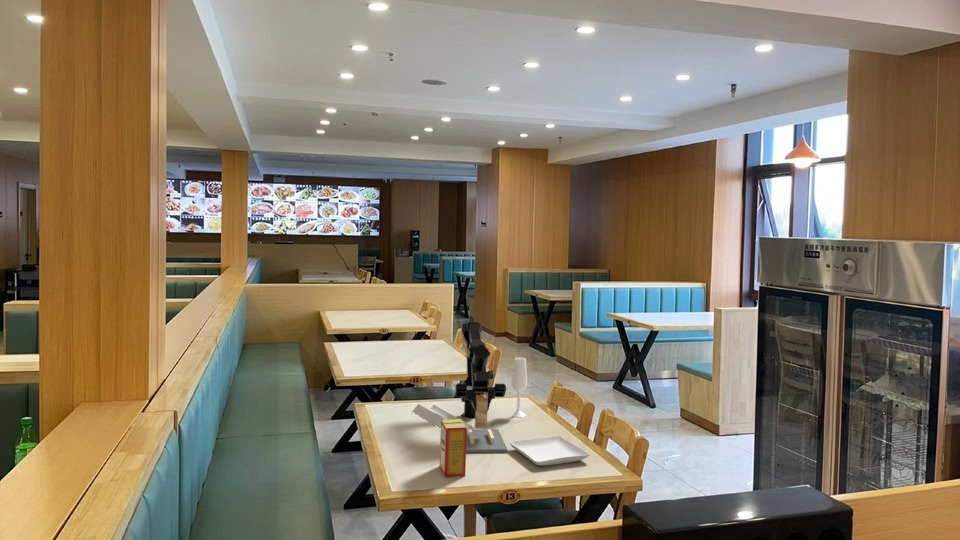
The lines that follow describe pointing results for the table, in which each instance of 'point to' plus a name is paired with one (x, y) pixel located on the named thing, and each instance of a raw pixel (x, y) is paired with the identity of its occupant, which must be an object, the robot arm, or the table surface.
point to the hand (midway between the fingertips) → (481, 410)
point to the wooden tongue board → (481, 411)
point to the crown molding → (435, 415)
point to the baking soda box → (453, 447)
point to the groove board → (485, 441)
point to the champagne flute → (519, 382)
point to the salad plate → (549, 450)
